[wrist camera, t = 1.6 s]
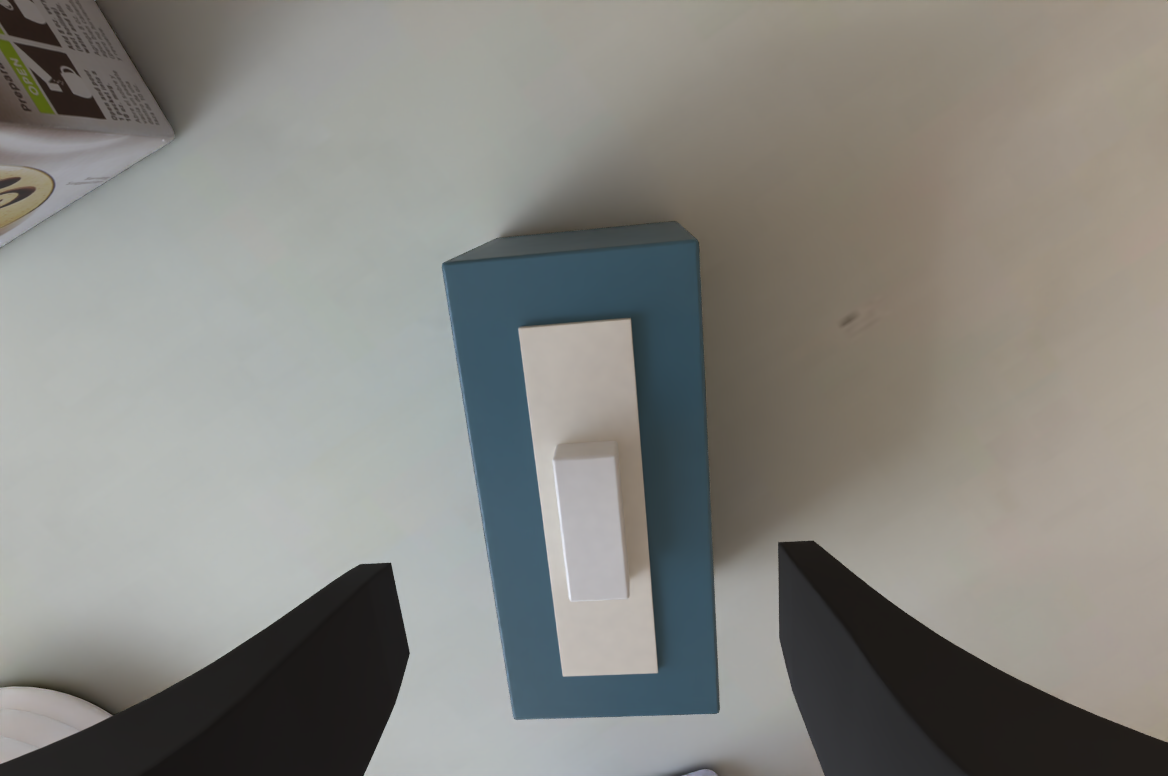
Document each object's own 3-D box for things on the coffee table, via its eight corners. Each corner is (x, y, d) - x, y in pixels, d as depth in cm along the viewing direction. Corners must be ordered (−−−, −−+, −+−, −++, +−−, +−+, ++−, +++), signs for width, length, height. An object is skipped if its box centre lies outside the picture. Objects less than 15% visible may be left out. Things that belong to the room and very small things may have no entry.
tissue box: (696, 580, 23) (725, 745, 16) (541, 587, 23) (506, 751, 17) (677, 220, 19) (704, 243, 13) (494, 237, 20) (426, 268, 13)
